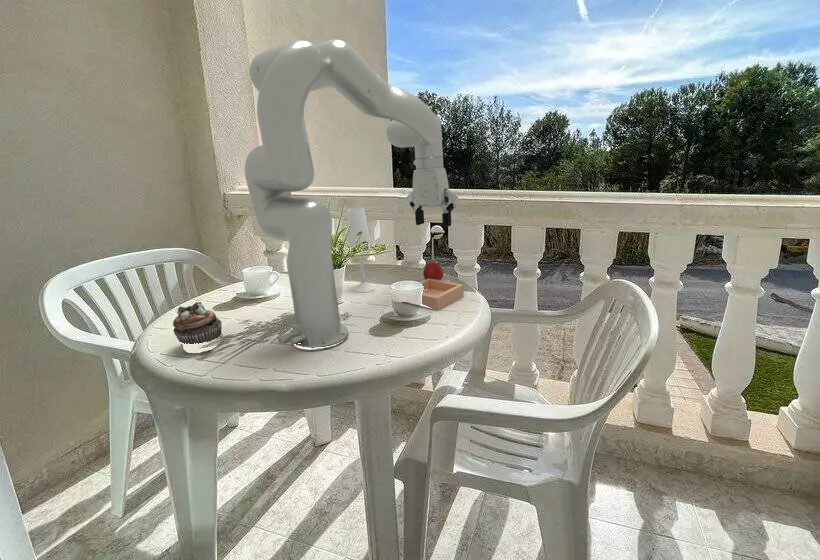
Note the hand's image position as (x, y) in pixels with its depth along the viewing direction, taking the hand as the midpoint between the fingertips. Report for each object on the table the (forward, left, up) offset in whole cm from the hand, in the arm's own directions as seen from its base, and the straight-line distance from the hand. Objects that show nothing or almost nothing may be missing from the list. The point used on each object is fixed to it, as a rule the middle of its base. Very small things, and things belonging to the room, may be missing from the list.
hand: (433, 225), depth 121 cm
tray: (-11, -7, -18) cm, 22 cm away
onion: (-1, 0, -18) cm, 18 cm away
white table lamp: (-14, +17, -18) cm, 28 cm away
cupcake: (-61, +21, -18) cm, 67 cm away
